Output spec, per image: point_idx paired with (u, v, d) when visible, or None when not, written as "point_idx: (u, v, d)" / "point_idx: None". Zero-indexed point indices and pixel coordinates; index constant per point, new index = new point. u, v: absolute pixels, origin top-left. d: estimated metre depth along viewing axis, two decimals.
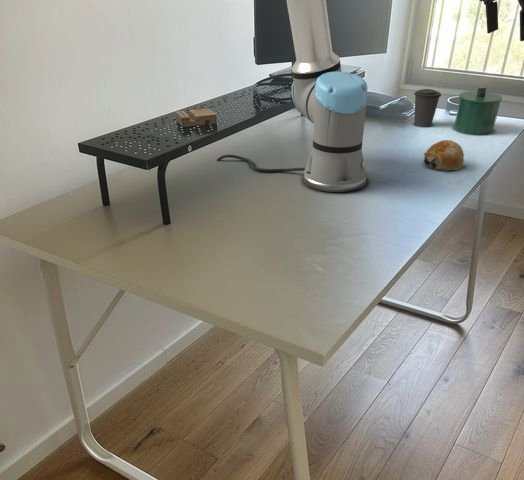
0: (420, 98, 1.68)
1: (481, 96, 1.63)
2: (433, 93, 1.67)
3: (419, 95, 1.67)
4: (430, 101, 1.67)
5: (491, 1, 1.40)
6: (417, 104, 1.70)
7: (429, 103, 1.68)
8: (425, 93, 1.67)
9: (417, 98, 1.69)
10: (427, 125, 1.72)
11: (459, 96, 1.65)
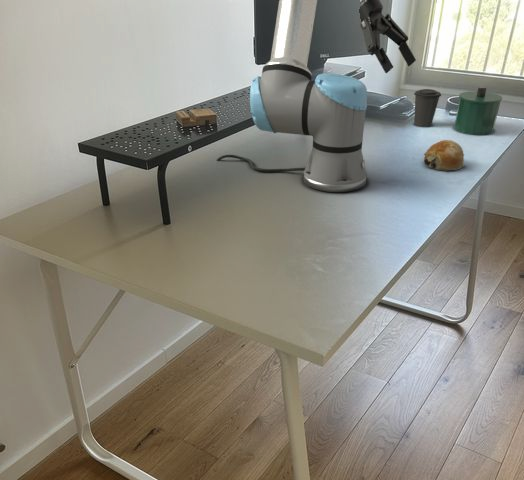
0: (420, 98, 1.68)
1: (481, 96, 1.63)
2: (433, 93, 1.67)
3: (419, 95, 1.67)
4: (430, 101, 1.67)
5: None
6: (417, 104, 1.70)
7: (429, 103, 1.68)
8: (425, 93, 1.67)
9: (417, 98, 1.69)
10: (427, 125, 1.72)
11: (459, 96, 1.65)
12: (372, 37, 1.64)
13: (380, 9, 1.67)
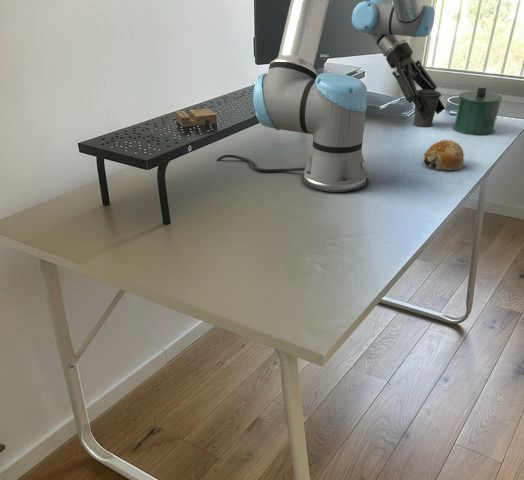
0: None
1: (481, 96, 1.63)
2: (433, 93, 1.67)
3: (419, 95, 1.67)
4: (430, 101, 1.67)
5: None
6: None
7: (429, 103, 1.68)
8: (425, 93, 1.67)
9: None
10: (427, 125, 1.72)
11: (459, 96, 1.65)
12: (409, 86, 1.65)
13: (410, 54, 1.68)
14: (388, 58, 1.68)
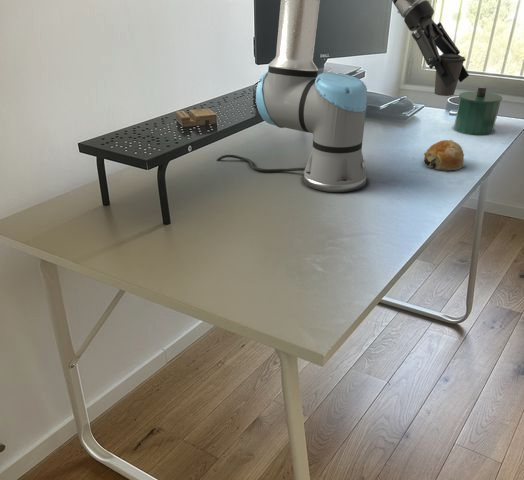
0: None
1: (481, 96, 1.63)
2: (457, 57, 1.50)
3: (441, 59, 1.51)
4: (453, 66, 1.51)
5: None
6: None
7: (452, 69, 1.51)
8: (448, 57, 1.50)
9: None
10: (449, 94, 1.56)
11: (459, 96, 1.65)
12: (430, 48, 1.48)
13: (431, 14, 1.51)
14: (407, 19, 1.52)
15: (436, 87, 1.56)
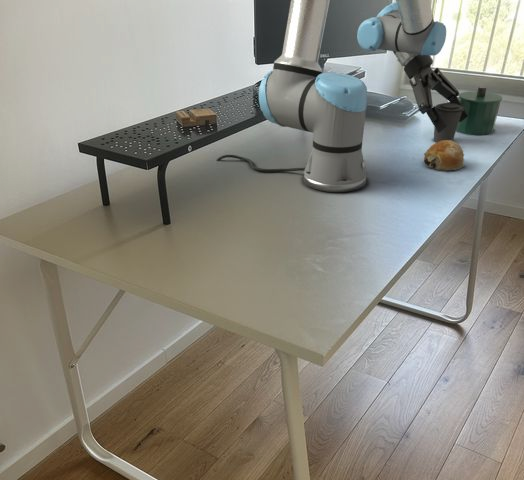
0: (441, 113, 1.54)
1: (481, 96, 1.63)
2: (455, 108, 1.54)
3: (440, 110, 1.54)
4: (452, 116, 1.54)
5: None
6: None
7: (451, 119, 1.55)
8: (447, 108, 1.54)
9: None
10: None
11: (459, 96, 1.65)
12: (424, 95, 1.50)
13: (430, 64, 1.55)
14: (406, 68, 1.55)
15: (435, 135, 1.60)
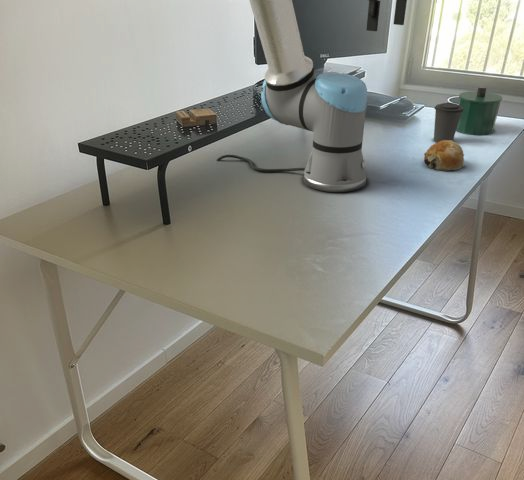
0: (441, 113, 1.54)
1: (481, 96, 1.63)
2: (455, 108, 1.54)
3: (440, 110, 1.54)
4: (452, 116, 1.54)
5: None
6: (438, 119, 1.56)
7: (451, 119, 1.55)
8: (447, 108, 1.54)
9: (438, 113, 1.55)
10: None
11: (459, 96, 1.65)
12: None
13: None
14: None
15: (435, 135, 1.60)
